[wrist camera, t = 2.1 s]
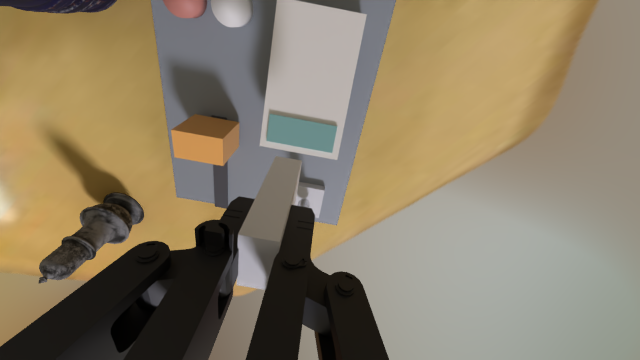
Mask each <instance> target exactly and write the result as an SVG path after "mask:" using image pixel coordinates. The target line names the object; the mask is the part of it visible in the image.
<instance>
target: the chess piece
mask: <svg viewBox="0 0 640 360" xmlns="http://www.w3.org/2000/svg"><path fill="white" fill-rule="evenodd" d="M143 218H144V212H143V209H142V207H141V206H140V204H139V203H138V202H137V201H136V200H134V199H133V198H131V197H130V196H127V195H125V194H122V193H111V194H109V195H107V196H106V197H105V198H104V202H103V203H102V204H98V205H95V206H93V207H88V208H86V209H84V210H83V211H82V212H81V213H80V221H81V224H82V226H83V227H82V228H81V229H80V230H78V231H77V232H76V233H75V234H73V235H72V236H68V237H65V238H63V240H62V245H61V246H60V247H58V248H57V249H56V250H55V251H53V252H52V253H51V254H50V255H48V256H47V257H46V258H45V259H43V260H42V262H41V263H40V266H39V269H40V272H41V273H42V274H43V277H40V280H39V283H44V282H47V279H54V280H62V279H65V278H67V277H69V276H70V275H71V274H72V273H73V272H74V271H75V270H76V269H78V268H79V267H80V266H81V265H82V264H83V263H84V262H85V261H86V260H91V259H93V258H94V257H95V256H96V252H97V251H98V250H99V249H100V248H101V247H102V246H103V245H104V244H105V243H113V244H117V243H122V242H124V241H126V239H127V238H128V236H129V233H130V231H131V228H132V225H134V224H138V223H140V222H141V221H142V220H143Z"/></svg>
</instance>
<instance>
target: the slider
mask: <svg viewBox="0 0 640 360" xmlns="http://www.w3.org/2000/svg"><path fill="white" fill-rule="evenodd" d="M171 134H172V142H173V150H174V157H176V158H181V159H187V160H192V161H198V162H203V163H209V164H214V165H220V166H224V164H225V163H226V162H227V161H228V159H229V158H230V157H231V156H232V154H233V153H234V152H235V151H236V150H237V148H238V147H239V122H235V121H230V120H224V119H219V118H214V117H208V116H203V115H197V114H195V115H193V116H191V117H190V118H188V119H187V120H185V121H184V122H182V123H181V124H179V125H177V126H176V127H174V128H173V129H171Z"/></svg>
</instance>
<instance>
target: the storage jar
mask: <svg viewBox="0 0 640 360" xmlns="http://www.w3.org/2000/svg"><path fill="white" fill-rule="evenodd" d="M116 1H117V0H0V6H11V7H14V8H17V9H21V10H25V11H34V12H48V13H74V12H100V11H103V10H105V9H107V8H109V7H110V6H112V5H113V4H114V3H115V2H116Z"/></svg>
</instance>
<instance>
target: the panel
mask: <svg viewBox="0 0 640 360" xmlns="http://www.w3.org/2000/svg"><path fill="white" fill-rule="evenodd" d="M297 1H302V2H307V3H312V4H317V5H322V6H327V7H332V8H337V9H342V10H347V11H352V12H357V13H362V14H367V16H366V21H365V26H364V31H363V36H362V41H361V46H360V51H359V56H358V61H357V66H356V70H355V75H354V80H353V85H352V90H351V95H350V100H349V105H348V110H347V115H346V120H345V125H344V129H343V134H342V139H341V144H340V149H339V154H338V159H337V160H334V159H328V158H323V157H317V156H312V155H306V154H301V153H296V152H290V151H285V150H279V149H274V148H268V147H263V146H260V138H261V130H262V121H263V113H264V104H265V96H266V88H267V79H268V71H269V63H270V54H271V46H272V38H273V29H274V21H275V12H276V4H277V0H151V5H152V12H153V20H154V27H155V35H156V43H157V50H158V58H159V65H160V73H161V81H162V88H163V96H164V103H165V111H166V119H167V126H168V134H169V141H170V149H171V157H172V164H173V172H174V179H175V187H176V195H177V197H180V198H185V199H191V200H197V201H202V202H208V203H214V204H215V206H216V207H221V208H227V207H228V206H229V204H230V202H231V201H233V200H234V199H236V198H237V197H239V196H241V197H246V198H252V199H255V198H256V196H257V194H258V192H259V190H260V188H261V186H262V184H263V181H264V179H265V177H266V175H267V173H268V171H269V169H270V167H271V165H272V163H273V161H274V159H275V157H276V156H279V157H284V158H290V159H295V160H301V161H302V164H301V171H300V177H299V184H298V190H297V197H296V202H295V205H296V206H297V205H298V202H299V200H301V199H307V200H308V201H309V202H310V208H312V210H313V212H314V214H315V222H321V223H327V224H332V225H337V223H338V219H339V215H340V211H341V207H342V204H343V200H344V196H345V192H346V188H347V185H348V181H349V177H350V173H351V169H352V166H353V162H354V158H355V154H356V150H357V147H358V143H359V139H360V135H361V131H362V128H363V124H364V120H365V116H366V112H367V109H368V105H369V101H370V97H371V93H372V90H373V86H374V82H375V78H376V74H377V71H378V67H379V63H380V59H381V55H382V52H383V48H384V44H385V40H386V36H387V33H388V29H389V25H390V21H391V17H392V14H393V10H394V6H395V2H396V0H297ZM195 114H197V115H203V116H208V117H214V118H219V119H224V120H230V121H235V122H239V147H238V148H237V150H236V151H235V152H234V153H233V154H232V156H231V157H230V158H229V159H228V161H227V162H226V163H225V164H224V166H220V165H214V164H209V163H203V162H198V161H192V160H187V159H181V158H176V157H174V150H173V142H172V134H171V129H173V128H174V127H176V126H177V125H179V124H181V123H182V122H184V121H185V120H187V119H188V118H190V117H191V116H193V115H195Z"/></svg>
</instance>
